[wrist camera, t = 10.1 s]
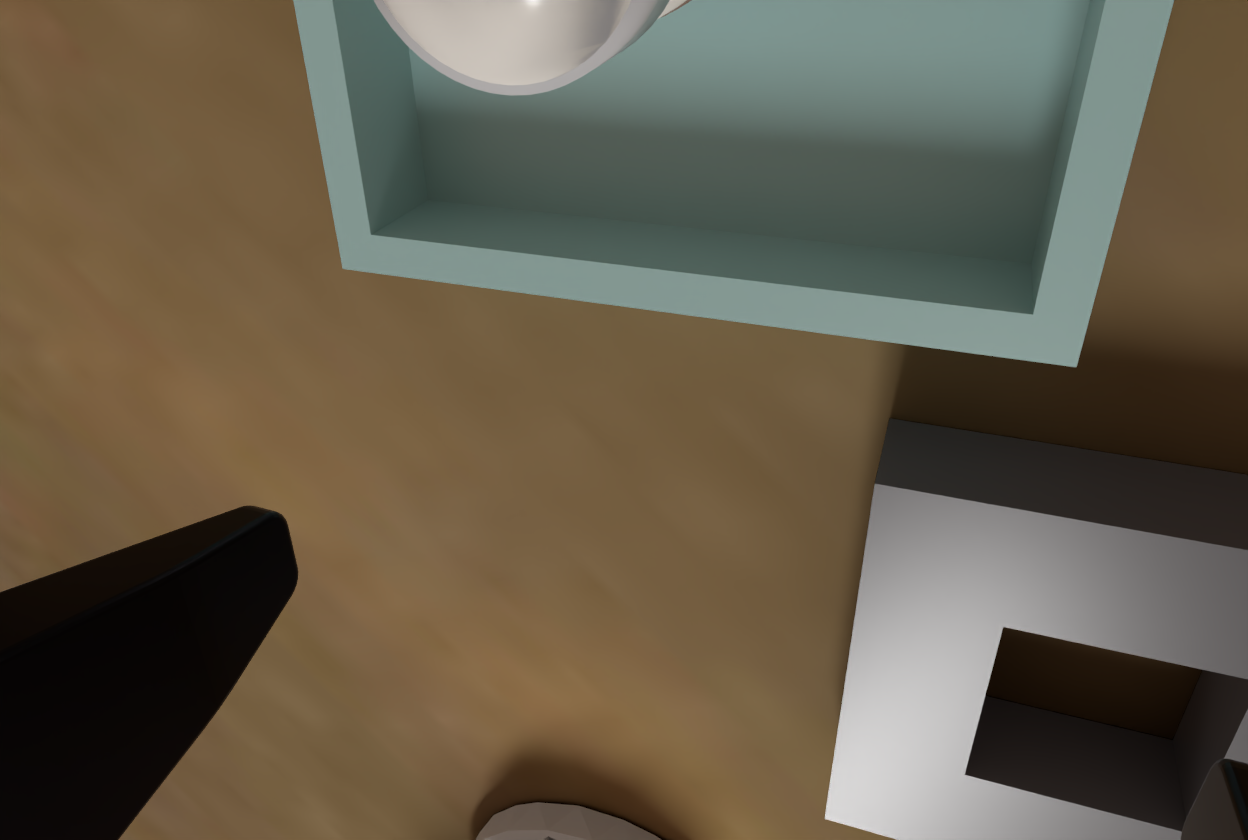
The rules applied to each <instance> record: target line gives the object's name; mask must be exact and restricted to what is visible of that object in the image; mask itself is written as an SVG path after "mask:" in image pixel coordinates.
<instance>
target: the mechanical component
mask: <svg viewBox="0 0 1248 840" xmlns="http://www.w3.org/2000/svg"><path fill="white" fill-rule="evenodd" d="M476 840H661V839H660V838H658V837H657V836H655V835H653V834H651V833H649V832H647V831H645V830H643V829H641V828H639V827H637V826H635V825H633V824H631V823H629V822H627V821H624V820H622V819H619V818H616V817H613V816H610V815H607V814H603V813H600V812H597V811H594V810H591V809H588V808H584V807H581V806H577V805H564V804H552V803H539V802H536V803H529V804H522V805H516V806H513V807H511V808H509V809H506V810H504V811H502V812H499V813H497V814H495V815H493V816H492V818H491V819H490V820H489V821H488V823H487V824H486V825H485V826H484V827H483V829H482V830H481V831H480V832H479V834H478V836H477V838H476Z"/></svg>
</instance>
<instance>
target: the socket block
mask: <svg viewBox="0 0 1248 840" xmlns="http://www.w3.org/2000/svg"><path fill="white" fill-rule="evenodd" d="M1003 627H1006V628H1011V629H1015V630H1020V631H1025V632H1029V633H1034V634H1039V635H1043V636H1048V637H1053V638H1057V639H1062V640H1067V641H1071V642H1076V643H1081V644H1085V645H1090V646H1095V647H1099V648H1104V649H1109V650H1113V651H1118V652H1123V653H1127V654H1132V655H1137V656H1141V657H1146V658H1151V659H1155V660H1160V661H1165V662H1169V663H1174V664H1179V665H1183V666H1188V667H1193V668H1197V669H1202V673H1201V675H1200V677H1199V680H1198V682H1197V684H1196V687H1195V689H1194V691H1193V694H1192V696H1191V698H1190V701H1189V703H1188V705H1187V708H1186V710H1185V712H1184V715H1183V717H1182V720H1181V722H1180V724H1179V727H1178V729H1177V731H1176V734H1175V736H1174V738H1173V740H1170V739H1165V738H1161V737H1157V736H1153V735H1149V734H1144V733H1140V732H1136V731H1132V730H1127V729H1123V728H1119V727H1115V726H1110V725H1106V724H1102V723H1098V722H1094V721H1089V720H1085V719H1081V718H1077V717H1072V716H1068V715H1064V714H1060V713H1055V712H1051V711H1047V710H1043V709H1039V708H1034V707H1030V706H1026V705H1022V704H1017V703H1013V702H1009V701H1005V700H1000V699H996V698H992V697H988V696H985V695H986V691H987V687H988V684H989V680H990V676H991V672H992V668H993V665H994V661H995V657H996V653H997V649H998V646H999V642H1000V638H1001V634H1002V630H1003ZM1220 759H1232V760H1236V761H1239V762H1243V763H1247V764H1248V475H1246V474H1239V473H1233V472H1227V471H1220V470H1214V469H1208V468H1201V467H1195V466H1189V465H1182V464H1176V463H1170V462H1163V461H1157V460H1151V459H1144V458H1138V457H1132V456H1125V455H1119V454H1113V453H1106V452H1100V451H1094V450H1087V449H1081V448H1075V447H1068V446H1062V445H1056V444H1049V443H1043V442H1037V441H1030V440H1024V439H1018V438H1011V437H1005V436H999V435H992V434H986V433H980V432H973V431H967V430H961V429H954V428H948V427H942V426H935V425H929V424H923V423H916V422H910V421H904V420H897V419H891V418H889V423H888V427H887V431H886V436H885V440H884V445H883V449H882V454H881V458H880V463H879V467H878V472H877V476H876V480H875V485H874V492H873V499H872V506H871V512H870V519H869V526H868V532H867V539H866V546H865V552H864V559H863V566H862V572H861V579H860V586H859V592H858V599H857V606H856V612H855V619H854V626H853V633H852V639H851V646H850V653H849V659H848V666H847V673H846V679H845V686H844V693H843V699H842V706H841V713H840V719H839V726H838V733H837V739H836V746H835V753H834V759H833V766H832V773H831V780H830V786H829V793H828V800H827V806H826V813H825V819H828V820H831V821H835V822H838V823H842V824H845V825H848V826H852V827H855V828H859V829H862V830H866V831H869V832H873V833H876V834H880V835H883V836H887V837H890V838H894V839H897V840H1181V834H1182V829H1183V826H1184V822H1185V820H1186V818H1187V816H1188V813H1189V811H1190V809H1191V807H1192V805H1193V803H1194V801H1195V799H1196V797H1197V795H1198V793H1199V791H1200V789H1201V787H1202V784H1203V782H1204V780H1205V778H1206V776H1207V774H1208V772H1209V770H1210V768H1211V767H1212V765H1213V764H1214V763H1215V762H1216V761H1217V760H1220Z"/></svg>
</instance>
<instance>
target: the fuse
mask: <svg viewBox="0 0 1248 840" xmlns="http://www.w3.org/2000/svg"><path fill="white" fill-rule="evenodd" d="M690 1H692V0H374V2H375V4H376V6H377V7H378V9H379V11H380V12H381V13H382V15H383V16H384V18H385V19H386V21H387V22H388V23H389V25H390V26H391V28H392V29H393V30H394V31H395V32H396V33H397V35H398V36H399V37H400V38H401V39H402V40H403V42H404V43H405V44H406V45H407V46H408V47H409V48H410V49H411V50H412V51H414V52H415V53H416V54H417V55H418V56H419V57H420V58H421V59H422V60H424V61H425V62H426V63H428V64H429V65H430V66H432V67H433V68H434V69H436V70H437V71H439V72H440V73H442V74H444V75H446V76H447V77H449V78H451V79H453V80H454V81H457V82H459V83H461V84H464V85H466V86H469V87H471V88H474V89H477V90H481V91H485V92H489V93H493V94H501V95H510V96H513V95H532V94H538V93H543V92H548V91H551V90H554V89H557V88H560V87H563V86H565V85H567V84H569V83H571V82H573V81H575V80H577V79H579V78H581V77H582V76H584V75H586V74H587V73H589V72H590V71H592V70H594V69H595V68H597V67H598V66H600V65H602V64H603V63H605V62H606V61H608V60H610V59H611V58H613V57H614V56H616V55H618V54H619V53H621V52H622V51H624V50H625V49H626V48H628V47H629V46H631V45H632V44H633V43H635V42H636V41H637V40H638V39H639V38H640V37H641V36H642V35H643V34H644V33H645V32H646V31H647V30H648V29H650V28H651V26H652V25H653V24H654V22H655V21H656V20H657V19H659V18H661V17H664V16H666V15H668V14H669V13H671V12H673V11H675V10H677V9H679V8H680V7H682V6H684V5H685V4H687V3H689V2H690Z"/></svg>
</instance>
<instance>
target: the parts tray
mask: <svg viewBox="0 0 1248 840" xmlns="http://www.w3.org/2000/svg"><path fill="white" fill-rule="evenodd" d="M293 1H294V6H295V12H296V17H297V23H298V28H299V33H300V39H301V44H302V50H303V55H304V61H305V66H306V71H307V77H308V82H309V88H310V93H311V99H312V104H313V110H314V115H315V120H316V126H317V131H318V137H319V142H320V148H321V153H322V158H323V164H324V169H325V175H326V180H327V186H328V191H329V196H330V202H331V207H332V213H333V218H334V224H335V229H336V235H337V240H338V245H339V251H340V256H341V262H342V267H343V269H348V270H355V271H363V272H370V273H378V274H385V275H393V276H400V277H407V278H415V279H422V280H430V281H437V282H445V283H452V284H459V285H467V286H474V287H482V288H489V289H497V290H504V291H512V292H519V293H526V294H534V295H541V296H549V297H556V298H564V299H571V300H579V301H586V302H593V303H601V304H608V305H616V306H623V307H631V308H638V309H645V310H653V311H660V312H668V313H675V314H683V315H690V316H698V317H705V318H712V319H720V320H727V321H735V322H742V323H750V324H757V325H765V326H772V327H779V328H787V329H794V330H802V331H809V332H817V333H824V334H831V335H839V336H846V337H854V338H861V339H869V340H876V341H884V342H891V343H898V344H906V345H913V346H921V347H928V348H936V349H943V350H951V351H958V352H965V353H973V354H980V355H988V356H995V357H1003V358H1010V359H1018V360H1025V361H1032V362H1040V363H1047V364H1055V365H1062V366H1070V367H1077V364H1078V360H1079V356H1080V353H1081V349H1082V345H1083V341H1084V338H1085V334H1086V330H1087V326H1088V322H1089V319H1090V315H1091V311H1092V307H1093V304H1094V300H1095V296H1096V292H1097V289H1098V285H1099V281H1100V277H1101V273H1102V270H1103V266H1104V262H1105V258H1106V255H1107V251H1108V247H1109V243H1110V240H1111V236H1112V232H1113V228H1114V224H1115V221H1116V217H1117V213H1118V209H1119V206H1120V202H1121V198H1122V194H1123V191H1124V187H1125V183H1126V179H1127V176H1128V172H1129V168H1130V164H1131V160H1132V157H1133V153H1134V149H1135V145H1136V142H1137V138H1138V134H1139V130H1140V127H1141V123H1142V119H1143V115H1144V111H1145V108H1146V104H1147V100H1148V96H1149V93H1150V89H1151V85H1152V81H1153V78H1154V74H1155V70H1156V66H1157V62H1158V59H1159V55H1160V51H1161V47H1162V44H1163V40H1164V36H1165V32H1166V29H1167V25H1168V21H1169V17H1170V14H1171V10H1172V6H1173V2H1174V0H692V1H690V2H689V3H687V4H685V5H684V6H682V7H680V8H679V9H677V10H675V11H673V12H671V13H669V14H668V15H666V16H664V17H661V18H659V19H657V20H656V21H655V22H654V24H653V25H652V26H651V28H650V29H648V30H647V31H646V32H645V33H644V34H643V35H642V36H641V37H640V38H639V39H638V40H637V41H636V42H635V43H633V44H632V45H631V46H629V47H628V48H626V49H625V50H624V51H622V52H621V53H619V54H618V55H616V56H614V57H613V58H611V59H610V60H608V61H606V62H605V63H603V64H602V65H600V66H598V67H597V68H595V69H594V70H592V71H590V72H589V73H587V74H586V75H584V76H582V77H581V78H579V79H577V80H575V81H573V82H571V83H569V84H567V85H565V86H563V87H560V88H557V89H554V90H551V91H548V92H543V93H538V94H532V95H513V96H510V95H501V94H493V93H489V92H485V91H481V90H477V89H474V88H471V87H469V86H466V85H464V84H461V83H459V82H457V81H454V80H453V79H451V78H449V77H447V76H446V75H444V74H442V73H440V72H439V71H437V70H436V69H434V68H433V67H432V66H430V65H429V64H428V63H426V62H425V61H424V60H422V59H421V58H420V57H419V56H418V55H417V54H416V53H415V52H414V51H412V50H411V49H410V48H409V47H408V46H407V45H406V44H405V43H404V42H403V40H402V39H401V38H400V37H399V36H398V35H397V33H396V32H395V31H394V30H393V29H392V28H391V26H390V25H389V23H388V22H387V21H386V19H385V18H384V16H383V15H382V13H381V12H380V11H379V9H378V7H377V6H376V4H375V2H374V0H293Z"/></svg>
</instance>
